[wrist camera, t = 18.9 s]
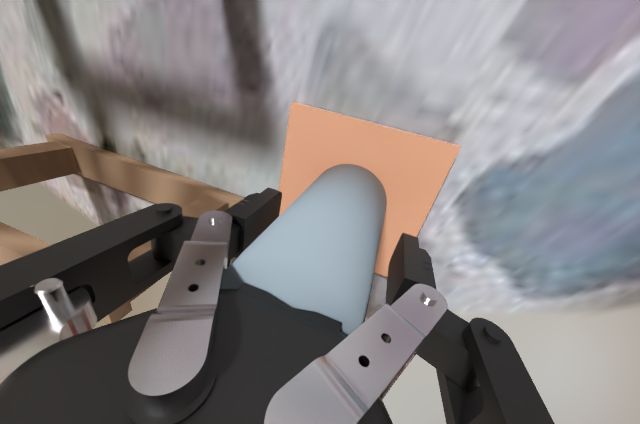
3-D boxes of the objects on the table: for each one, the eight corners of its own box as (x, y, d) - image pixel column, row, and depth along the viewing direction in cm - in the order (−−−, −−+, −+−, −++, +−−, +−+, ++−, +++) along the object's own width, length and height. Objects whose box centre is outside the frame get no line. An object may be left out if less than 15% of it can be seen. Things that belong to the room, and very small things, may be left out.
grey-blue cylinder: (398, 177, 15) (384, 302, 6) (372, 242, 17) (337, 394, 9) (320, 154, 15) (214, 234, 7) (307, 219, 18) (216, 336, 10)
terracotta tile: (457, 144, 14) (460, 147, 13) (395, 273, 19) (395, 280, 18) (295, 101, 15) (291, 102, 15) (277, 230, 20) (272, 235, 20)
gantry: (267, -116, 12) (-285, -980, 2) (244, 228, 21) (121, 333, 12) (-29, -149, 15) (-760, -560, 5) (68, 163, 24) (-137, 206, 15)
